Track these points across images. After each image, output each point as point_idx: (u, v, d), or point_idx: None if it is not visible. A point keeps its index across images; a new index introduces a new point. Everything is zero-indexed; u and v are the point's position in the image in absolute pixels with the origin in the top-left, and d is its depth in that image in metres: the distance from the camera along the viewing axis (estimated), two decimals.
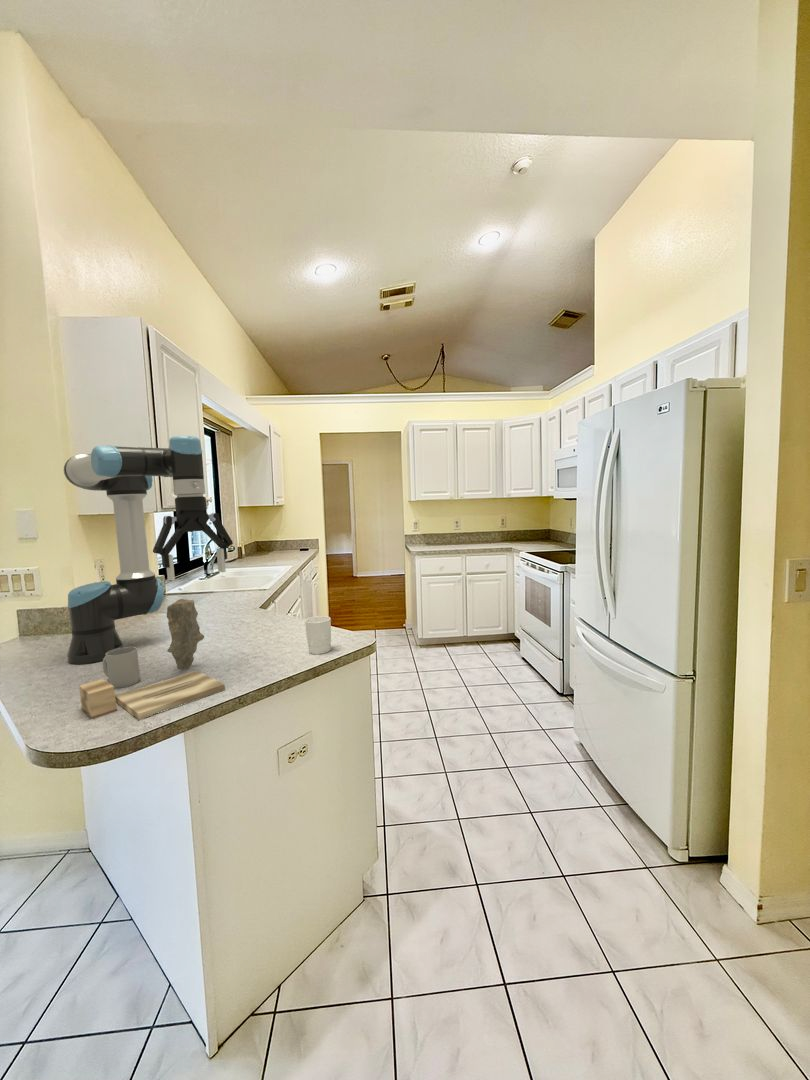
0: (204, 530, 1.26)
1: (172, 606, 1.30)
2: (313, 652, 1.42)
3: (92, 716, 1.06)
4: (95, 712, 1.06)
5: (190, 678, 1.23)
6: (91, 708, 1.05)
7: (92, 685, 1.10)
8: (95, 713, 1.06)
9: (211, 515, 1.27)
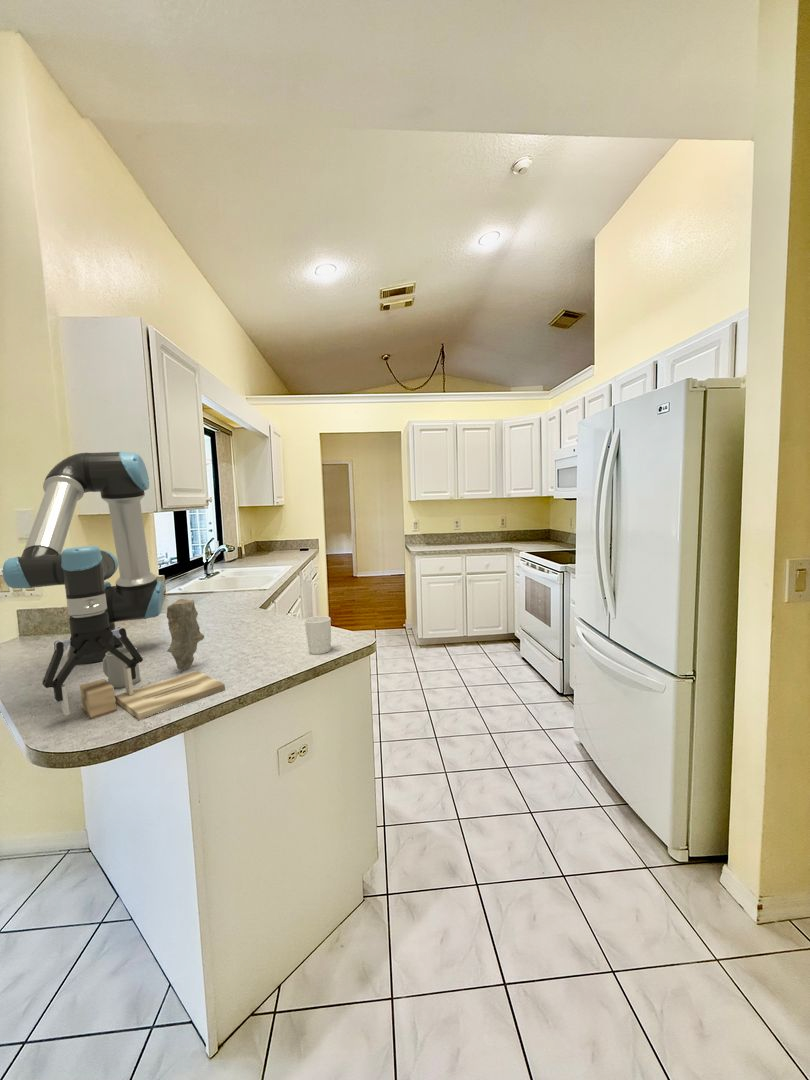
0: (107, 649, 1.11)
1: (172, 606, 1.30)
2: (313, 652, 1.42)
3: (91, 716, 1.06)
4: (94, 712, 1.06)
5: (190, 678, 1.23)
6: (90, 708, 1.05)
7: (92, 685, 1.10)
8: (94, 713, 1.06)
9: (116, 631, 1.12)
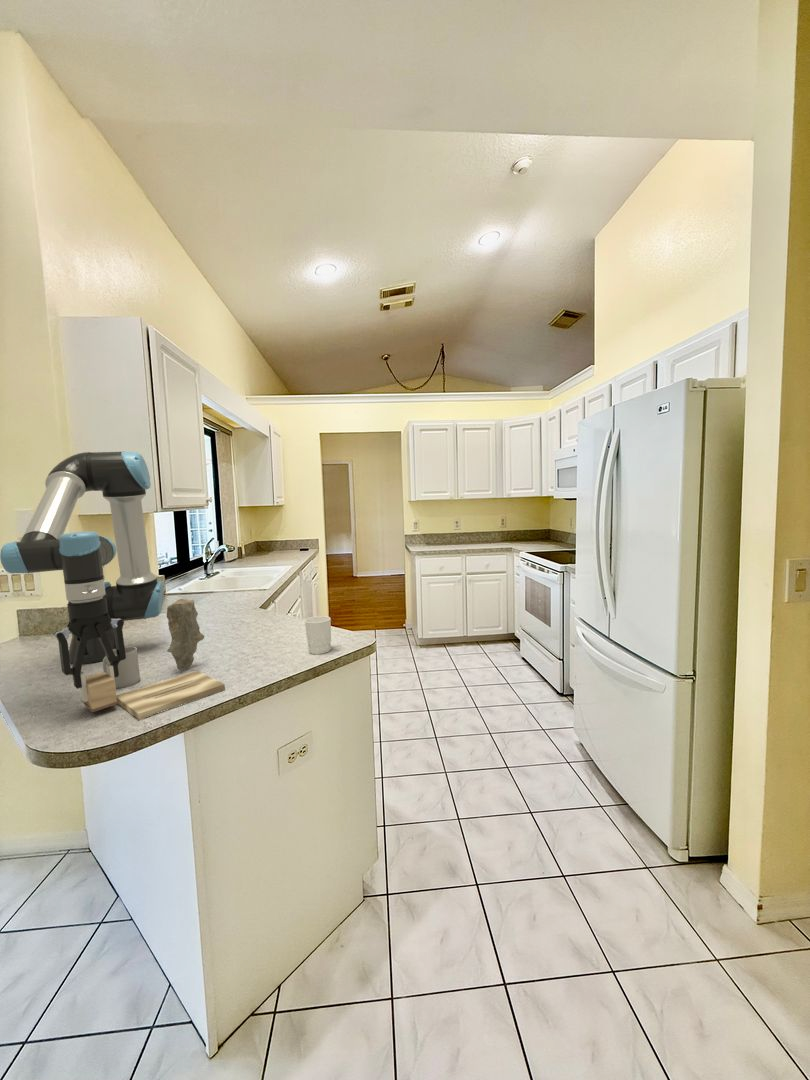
0: (99, 638, 1.10)
1: (172, 606, 1.30)
2: (313, 652, 1.42)
3: (93, 709, 1.06)
4: (96, 705, 1.06)
5: (190, 678, 1.23)
6: (91, 701, 1.06)
7: (93, 678, 1.10)
8: (96, 706, 1.06)
9: (115, 620, 1.12)
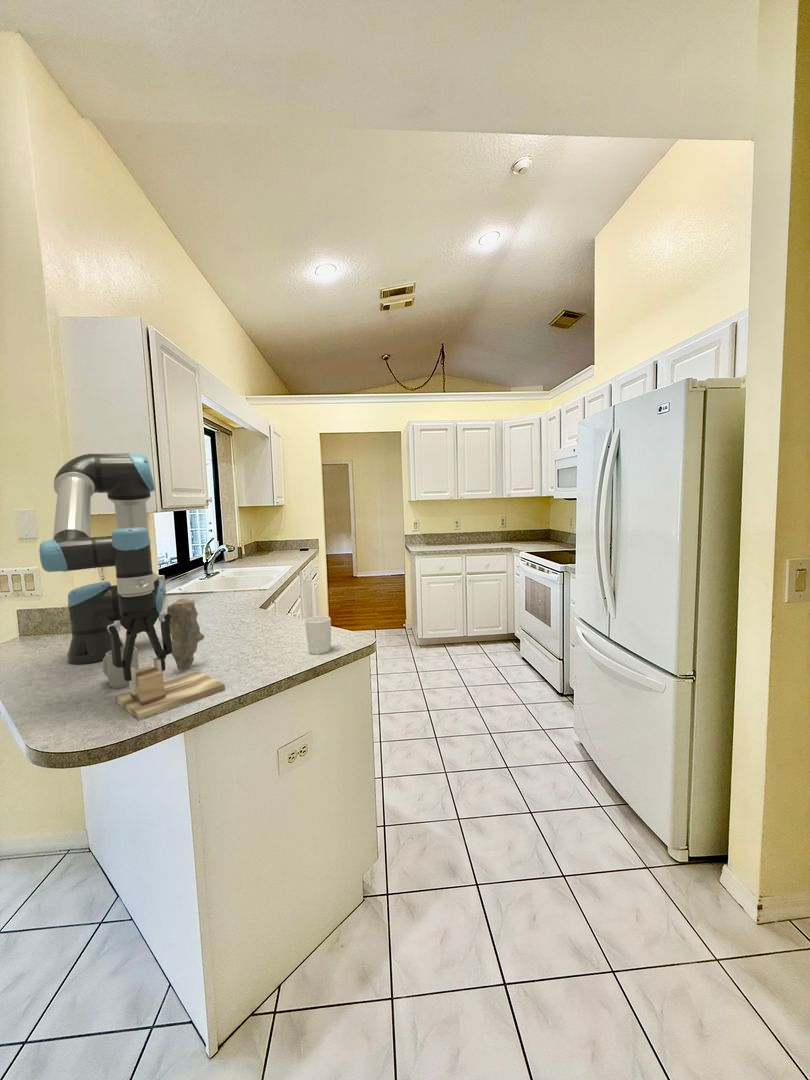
0: (148, 632, 1.12)
1: (172, 606, 1.30)
2: (313, 652, 1.42)
3: (142, 701, 1.08)
4: (145, 697, 1.08)
5: (190, 678, 1.23)
6: (141, 693, 1.08)
7: (141, 671, 1.12)
8: (145, 698, 1.08)
9: (162, 615, 1.14)
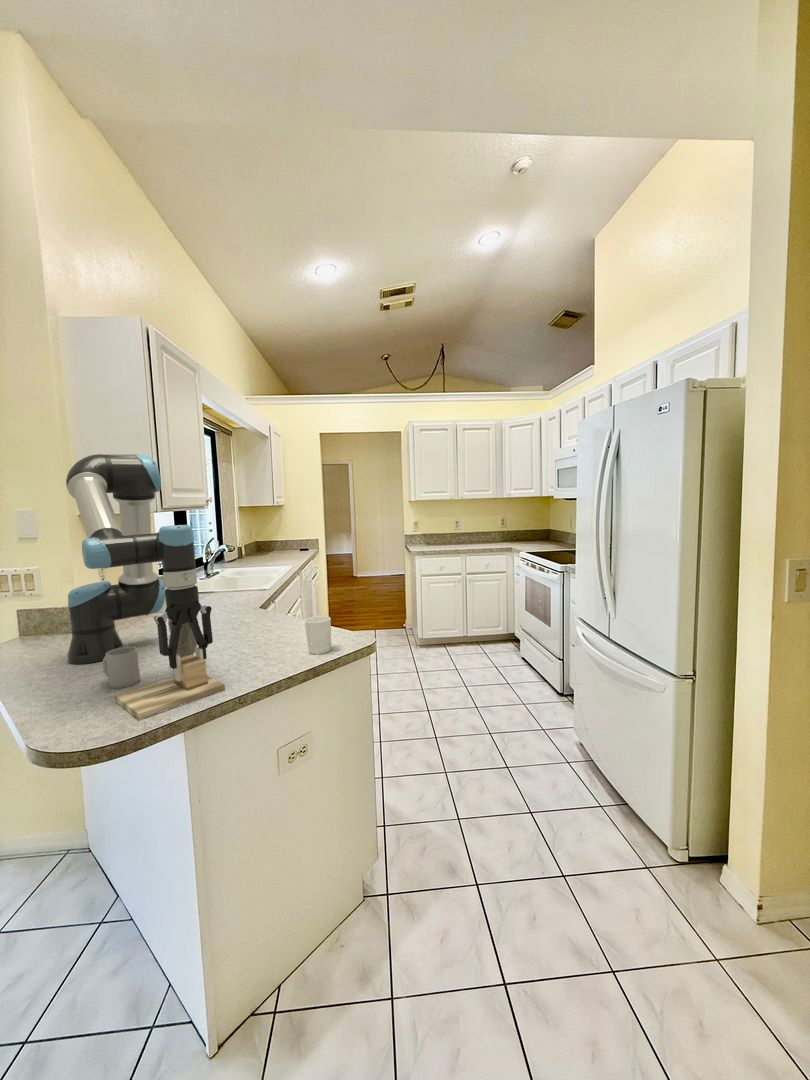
0: (191, 623, 1.20)
1: None
2: (313, 652, 1.42)
3: (188, 687, 1.15)
4: (190, 683, 1.16)
5: None
6: (187, 680, 1.15)
7: (184, 659, 1.20)
8: (190, 684, 1.16)
9: (203, 607, 1.21)
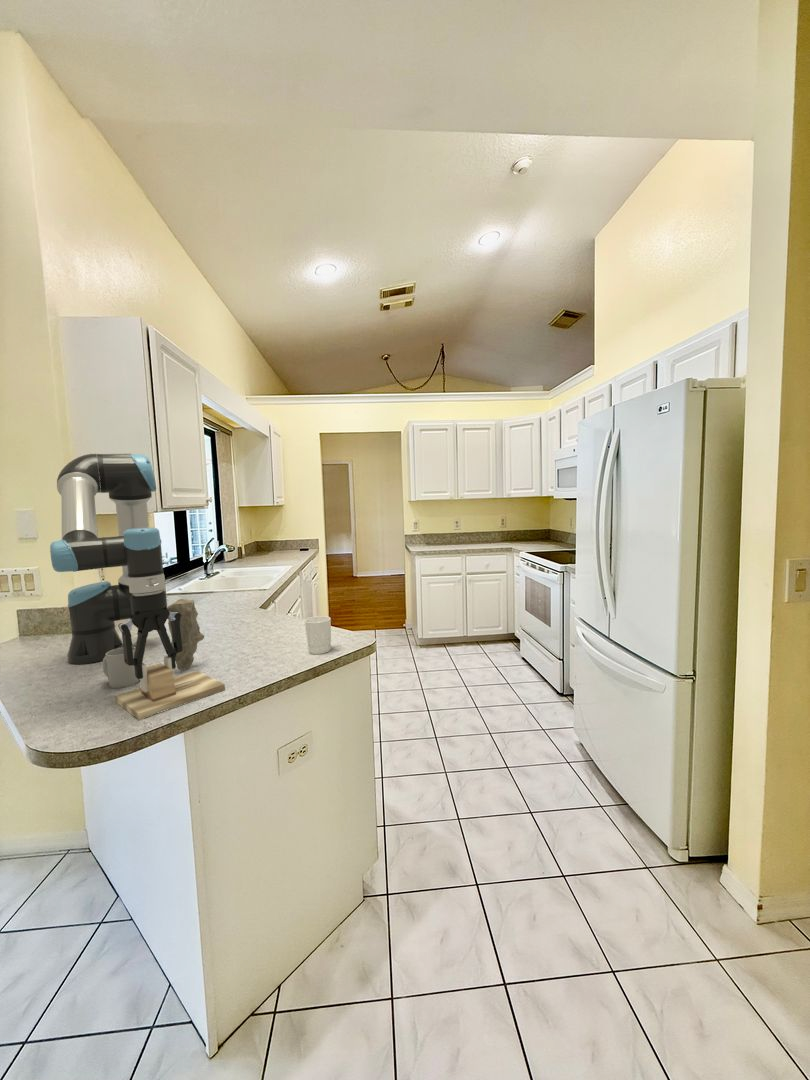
0: (158, 630, 1.14)
1: (172, 606, 1.30)
2: (313, 652, 1.42)
3: (153, 698, 1.10)
4: (156, 694, 1.10)
5: (190, 678, 1.23)
6: (152, 691, 1.09)
7: (152, 669, 1.14)
8: (156, 695, 1.10)
9: (172, 614, 1.16)
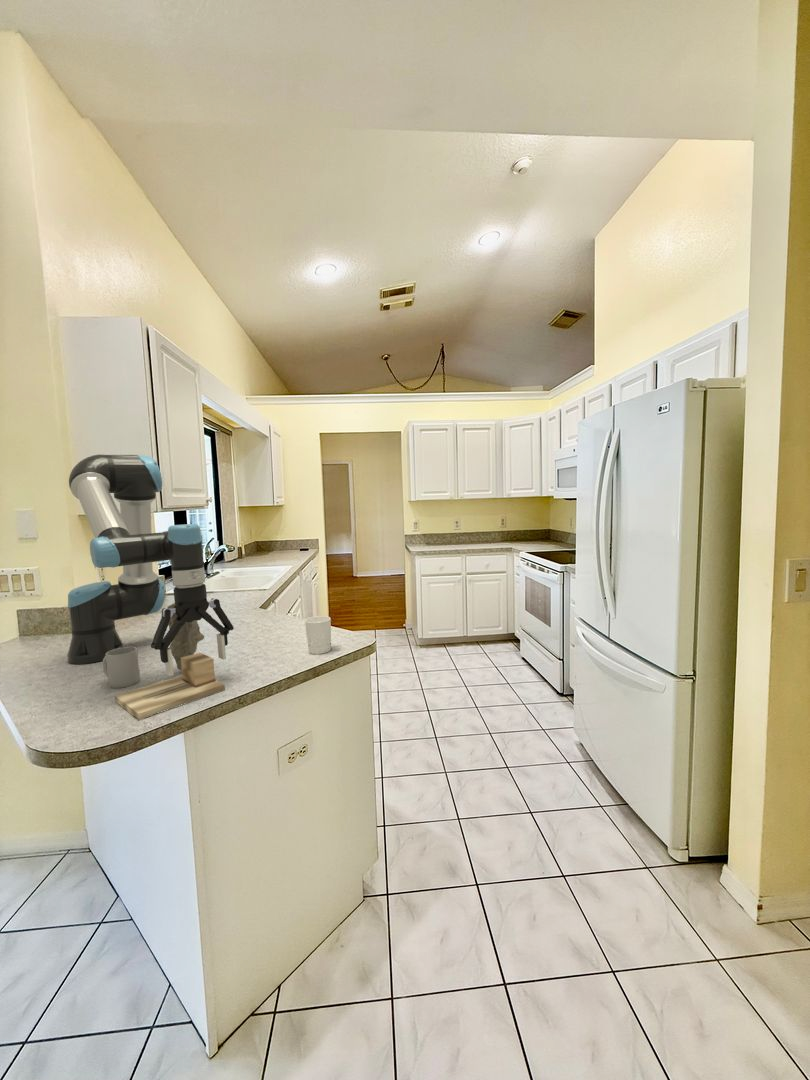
0: (204, 618, 1.22)
1: (172, 606, 1.30)
2: (313, 652, 1.42)
3: (196, 684, 1.17)
4: (198, 681, 1.17)
5: None
6: (195, 677, 1.17)
7: (192, 657, 1.21)
8: (198, 682, 1.17)
9: (211, 602, 1.23)
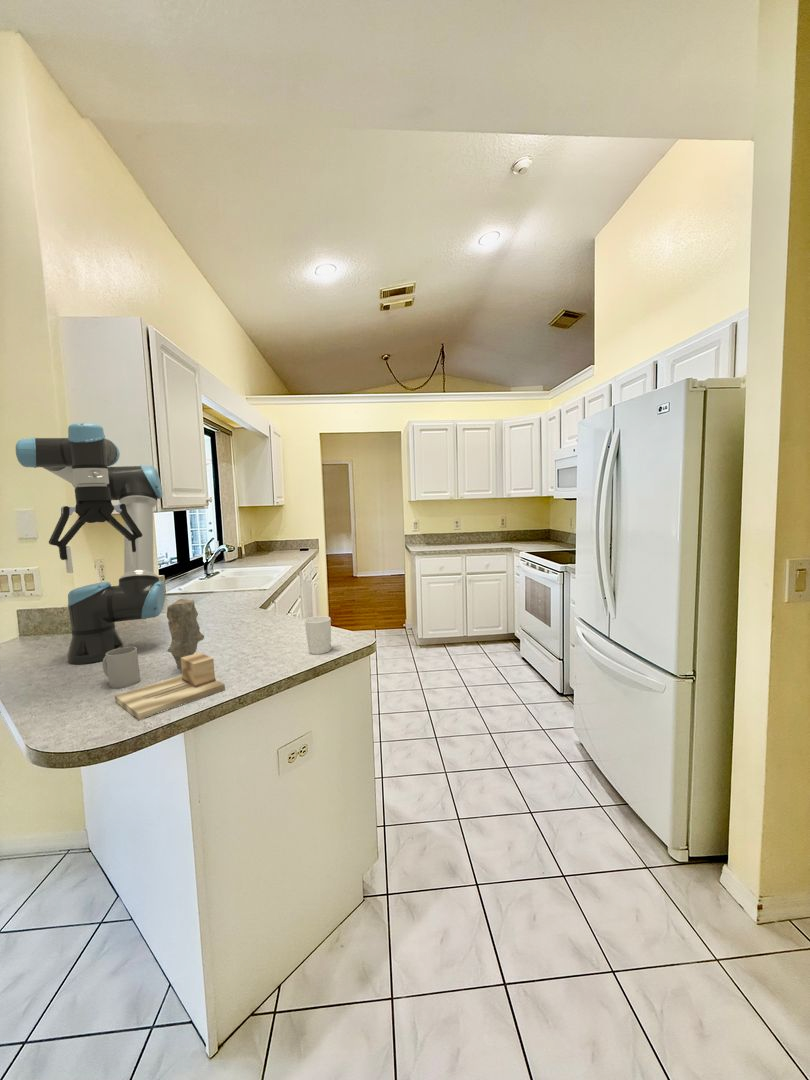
0: (109, 521, 1.22)
1: (172, 606, 1.30)
2: (313, 652, 1.42)
3: (196, 684, 1.17)
4: (198, 681, 1.17)
5: None
6: (195, 677, 1.17)
7: (192, 657, 1.21)
8: (198, 682, 1.17)
9: (117, 506, 1.23)
